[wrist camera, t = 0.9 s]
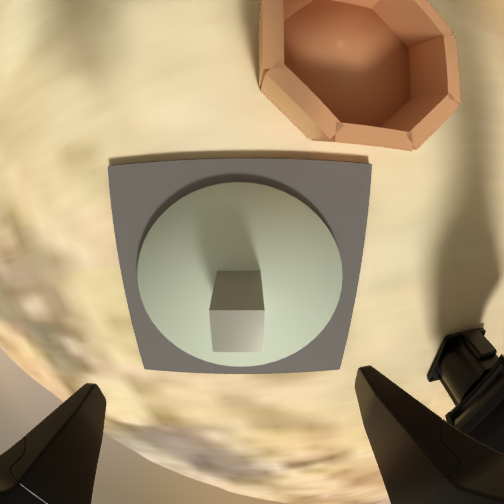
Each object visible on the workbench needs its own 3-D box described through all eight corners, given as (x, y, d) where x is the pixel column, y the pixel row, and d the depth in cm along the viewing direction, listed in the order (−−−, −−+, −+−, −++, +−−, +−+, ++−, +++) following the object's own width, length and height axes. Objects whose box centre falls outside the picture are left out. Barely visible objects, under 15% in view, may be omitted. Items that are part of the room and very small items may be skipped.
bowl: (413, 151, 18) (458, 159, 13) (258, 138, 18) (262, 138, 13) (408, 14, 14) (446, -8, 9) (258, -11, 14) (261, -52, 9)
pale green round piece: (326, 358, 25) (341, 405, 19) (156, 358, 24) (141, 405, 19) (350, 184, 19) (385, 202, 14) (128, 185, 19) (90, 205, 14)
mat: (338, 365, 26) (339, 369, 25) (145, 365, 25) (144, 368, 25) (368, 163, 19) (371, 164, 18) (110, 165, 19) (107, 166, 18)
